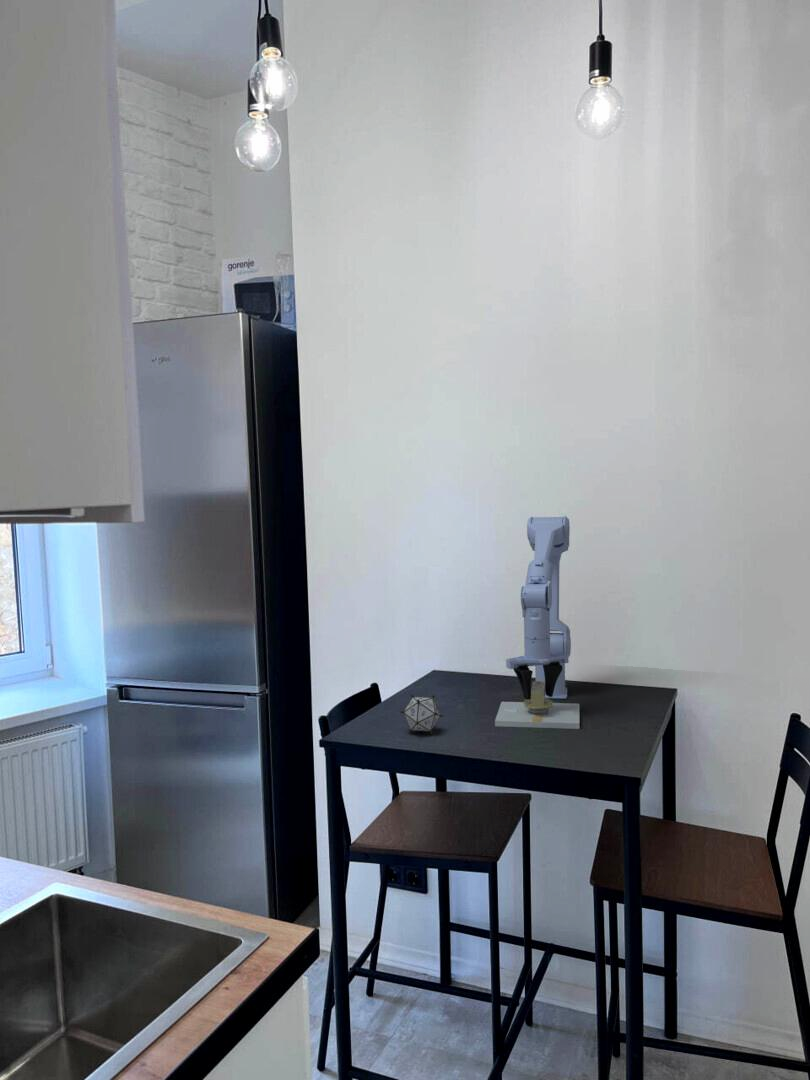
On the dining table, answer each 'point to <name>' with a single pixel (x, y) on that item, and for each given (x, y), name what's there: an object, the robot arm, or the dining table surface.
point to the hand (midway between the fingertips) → (538, 697)
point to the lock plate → (538, 716)
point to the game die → (421, 714)
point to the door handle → (538, 697)
